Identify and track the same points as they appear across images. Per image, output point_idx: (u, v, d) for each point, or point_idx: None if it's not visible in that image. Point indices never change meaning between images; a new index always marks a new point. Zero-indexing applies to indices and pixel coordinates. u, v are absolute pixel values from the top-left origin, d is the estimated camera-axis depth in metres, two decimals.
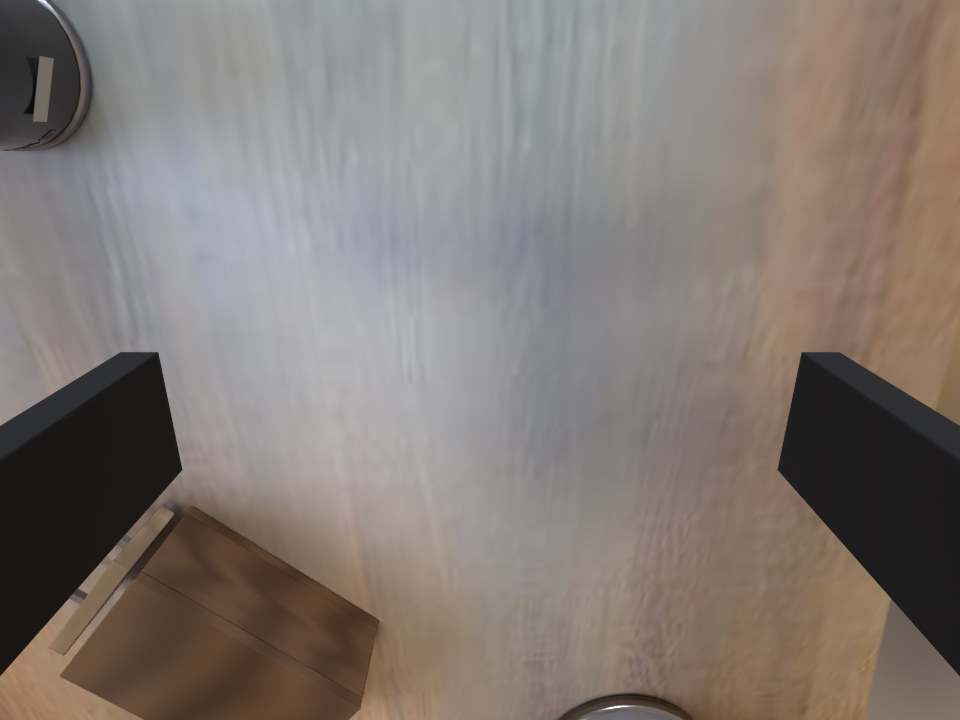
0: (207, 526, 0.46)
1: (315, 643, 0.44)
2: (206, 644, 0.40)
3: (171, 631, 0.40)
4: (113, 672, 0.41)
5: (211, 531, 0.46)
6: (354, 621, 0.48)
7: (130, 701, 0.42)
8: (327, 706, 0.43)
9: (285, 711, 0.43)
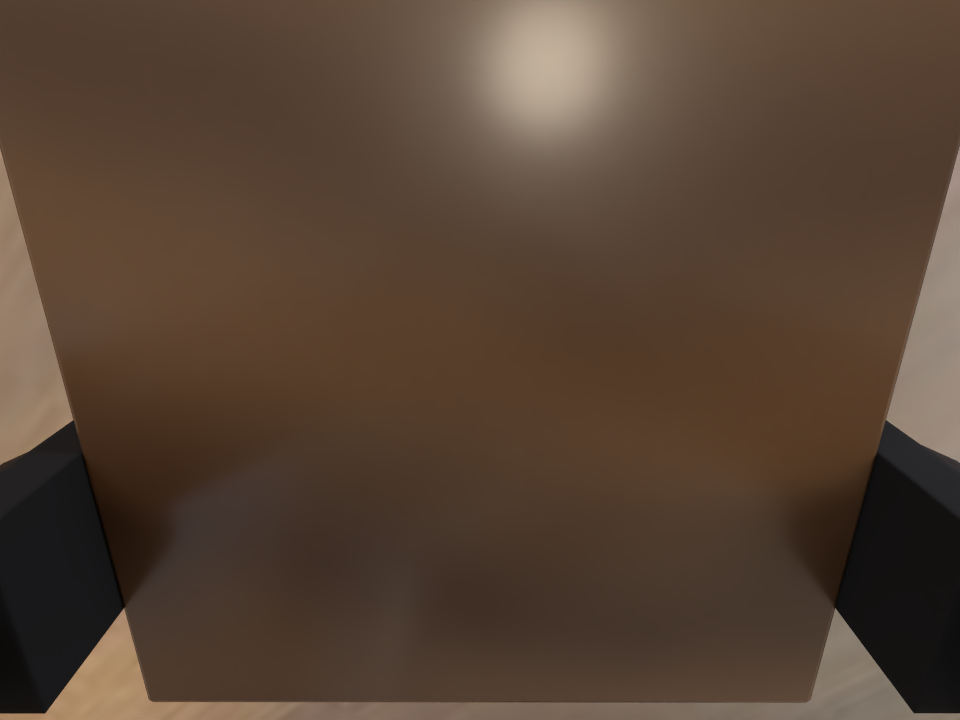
0: None
1: None
2: None
3: None
4: None
5: None
6: None
7: None
8: (750, 610, 0.09)
9: (611, 495, 0.08)
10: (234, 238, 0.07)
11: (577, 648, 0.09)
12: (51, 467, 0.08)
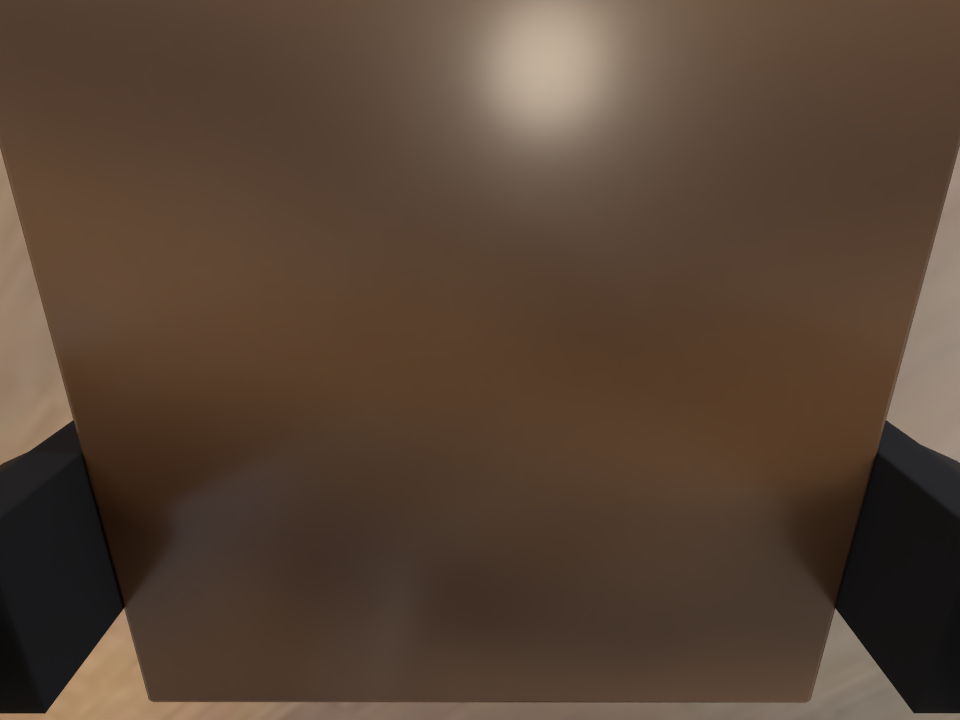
0: None
1: None
2: None
3: None
4: None
5: None
6: None
7: None
8: (750, 609, 0.09)
9: (612, 495, 0.08)
10: (235, 237, 0.07)
11: (577, 648, 0.09)
12: (51, 467, 0.08)
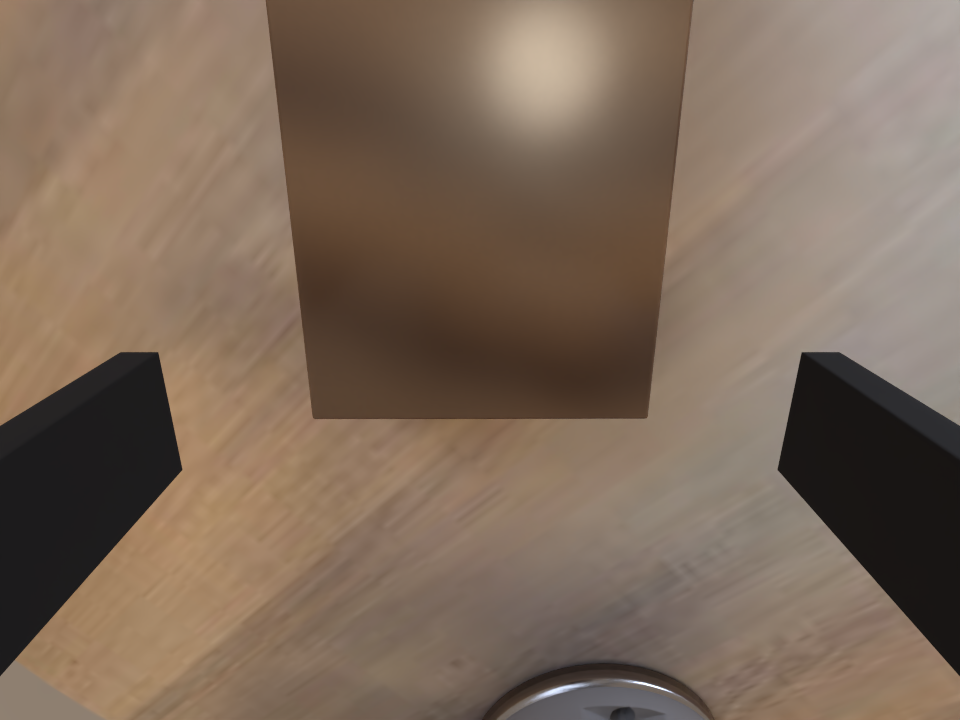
0: None
1: None
2: (624, 11, 0.15)
3: None
4: None
5: None
6: None
7: None
8: (611, 362, 0.19)
9: (541, 299, 0.18)
10: (375, 174, 0.17)
11: (528, 385, 0.19)
12: None
